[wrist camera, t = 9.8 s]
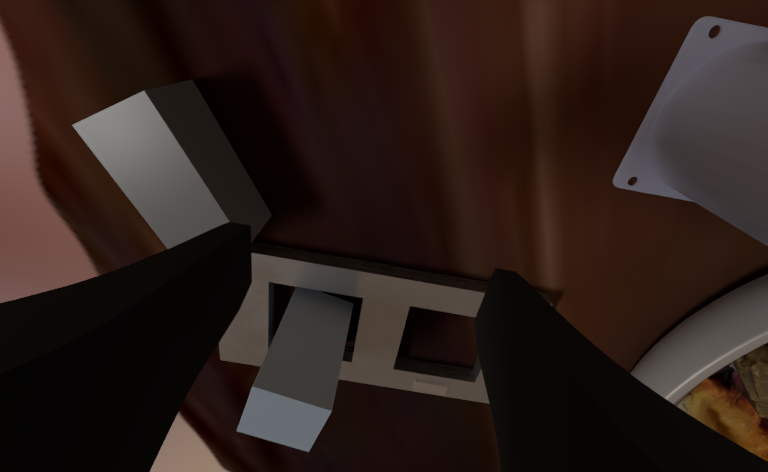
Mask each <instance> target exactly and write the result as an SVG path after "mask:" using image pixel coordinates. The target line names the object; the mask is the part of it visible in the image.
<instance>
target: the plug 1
mask: <svg viewBox="0 0 768 472" xmlns="http://www.w3.org/2000/svg"><path fill="white" fill-rule="evenodd" d="M72 126H73V127H74V128H75V130H76V131H77V132H78V134H79V135H80V136H81V137H82V139H83V140H84V141H85V143H86V144H87V145H88V147H89V148H90V149H91V150H92V152H93V153H94V154H95V156H96V157H97V158H98V159H99V161H100V162H101V163H102V165H103V166H104V167H105V169H106V170H107V171H108V172H109V174H110V175H111V176H112V178H113V179H114V180H115V181H116V183H117V184H118V185H119V187H120V188H121V189H122V191H123V192H124V193H125V194H126V196H127V197H128V198H129V200H130V201H131V202H132V204H133V205H134V206H135V207H136V209H137V210H138V211H139V213H140V214H141V215H142V216H143V218H144V219H145V220H146V222H147V223H148V224H149V226H150V227H151V228H152V229H153V231H154V232H155V233H156V235H157V236H158V237H159V238H160V240H161V241H162V242H163V244H164V245H165V246H166V248H167V249H169V248H172V247H174V246H176V245H178V244H180V243H183V242H185V241H187V240H189V239H192V238H194V237H196V236H198V235H200V234H202V233H205V232H207V231H209V230H211V229H213V228H216V227H218V226H220V225H223V224H225V223H228V222H234V223H239V224H245V225H251V243H252V241H253V240H254V239H255V237H256V236H257V235H258V233H259V232H260V231H261V229H262V228H263V226H264V225H265V224H266V222H267V221H268V220H269V218H270V217H271V216H272V214H271V213H270V211H269V209H268V208H267V206H266V204H265V202H264V201H263V199H262V197H261V196H260V194H259V192H258V191H257V189H256V187H255V185H254V184H253V182H252V180H251V179H250V177H249V175H248V173H247V172H246V170H245V168H244V167H243V165H242V163H241V162H240V160H239V158H238V156H237V155H236V153H235V151H234V150H233V148H232V146H231V144H230V143H229V141H228V139H227V138H226V136H225V134H224V133H223V131H222V129H221V127H220V126H219V124H218V122H217V121H216V119H215V117H214V115H213V114H212V112H211V110H210V109H209V107H208V105H207V103H206V102H205V100H204V98H203V97H202V95H201V93H200V92H199V90H198V88H197V86H196V85H195V83H194V81H193V80H189V81H185V82H180V83H176V84H171V85H167V86H162V87H158V88H153V89H149V90H145V91H142V92H140V93H138V94H136V95H134V96H132V97H130V98H128V99H126V100H123V101H121V102H119V103H117V104H115V105H113V106H111V107H109V108H107V109H105V110H103V111H101V112H98V113H96V114H94V115H92V116H90V117H88V118H86V119H84V120H82V121H80V122H78V123H75V124H73V125H72Z"/></svg>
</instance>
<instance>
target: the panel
mask: <svg viewBox="0 0 768 472" xmlns="http://www.w3.org/2000/svg"><path fill="white" fill-rule="evenodd" d="M251 255H252V283H251V285H250V288H249V290H248V292H247V295H246V297H245V299H244V301H243V303H242V305H241V307H240V310H239V311H238V313H237V315H236V316H235V318H234V320H233V321H232V323H231V324H230V326H229V328H228V329H227V331H226V332H225V334H224V335H223V337H222V339H221V340H220V342H219V349H220V360H224V361H231V362H237V363H243V364H249V365H255V366H262V363H263V361H264V359H265V357H266V354H267V352H268V350H269V348H270V345H271V343H272V341H273V338H274V287H275V283H277V284H283V285H289V286H295V287H301V288H307V289H313V290H319V291H324V292H330V293H336V294H342V295H348V296H354V297H360V298H363V302H362V307H361V313H360V319H359V324H358V330H357V335H356V341H355V346H354V349H348V348H344V353H343V358H342V363H341V368H340V373H339V378H338V379H341V380H347V381H354V382H360V383H366V384H372V385H378V386H384V387H390V388H397V389H403V390H409V391H415V392H421V393H427V394H433V395H440V396H446V397H452V398H458V399H464V400H470V401H476V402H483V403H489V399H488V395H487V391H486V387H485V382H484V378H483V374H482V369H481V365H480V361H479V356H478V357H477V360H476V362H475V364H474V367H473V369H469V368H463V367H457V366H451V365H445V364H438V363H432V362H426V361H420V360H414V359H408V358H402V357H397V353H398V349H399V345H400V342H401V338H402V334H403V330H404V327H405V323H406V319H407V315H408V312H409V308H410V306H413V307H418V308H424V309H430V310H436V311H442V312H448V313H454V314H460V315H465V316H471V317H476V315H477V312H478V310H479V307H480V305H481V302H482V300H483V297H484V295H485V292H486V290H487V287H488V284H489V282H484V281H478V280H473V279H467V278H461V277H455V276H450V275H444V274H438V273H432V272H427V271H421V270H415V269H409V268H404V267H398V266H392V265H386V264H381V263H375V262H369V261H363V260H357V259H352V258H346V257H340V256H334V255H329V254H323V253H317V252H311V251H306V250H300V249H294V248H288V247H283V246H277V245H271V244H265V243H259V242H254V241H252V243H251ZM537 292H538V293H539V294H540V295H541V296H542V297H543V298H544V299H545V300H546V301H547V302H548V303H549V304H550V305H551V306H552V305H553V304H552V302H551V300H550V298H549V296H548V294H547V293H546V292H542V291H537Z"/></svg>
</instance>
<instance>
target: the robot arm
mask: <svg viewBox="0 0 768 472" xmlns="http://www.w3.org/2000/svg"><path fill="white" fill-rule="evenodd" d="M715 25H718V26H720V32H719V34H718V35H717V36H716V37H714V38H712V39H711V38H710V37H709V31H710V29H711V28H712V27H713V26H715ZM632 177H637V182H636V183H635V184H633V185H628V180H629V179H630V178H632ZM613 184H614V185H615V186H616V187H618V188H622V189H627V190H633V191H638V192H643V193H649V194H654V195H660V196H665V197H671V198H676V199H681V200H687V201H692V202H695V203H697V204H699V205H700V206H702V207H704V208H705V209H707V210H709V211H710V212H712V213H714V214H715V215H717V216H719V217H720V218H722V219H724V220H725V221H727V222H728V223H730V224H732V225H733V226H735V227H737V228H738V229H740V230H742V231H743V232H745V233H747V234H748V235H750V236H752V237H753V238H755V239H757V240H758V241H760V242H762V243H763V244H765V245H767V246H768V28H766V27H762V26H757V25H752V24H747V23H742V22H737V21H732V20H727V19H722V18H717V17H712V16H705V17H702V18H700V19H699V20H697V21H696V22H695V23H694V24H693V26H692V27H691V29H690V31H689V33H688V35H687V37H686V39H685V41H684V43H683V45H682V46H681V48H680V50H679V52H678V54H677V56H676V58H675V60H674V62H673V64H672V66H671V68H670V70H669V72H668V73H667V75H666V77H665V79H664V81H663V83H662V85H661V87H660V89H659V91H658V93H657V95H656V97H655V99H654V100H653V102H652V104H651V106H650V108H649V110H648V112H647V114H646V116H645V118H644V120H643V122H642V124H641V126H640V127H639V129H638V131H637V133H636V135H635V137H634V139H633V141H632V143H631V145H630V147H629V149H628V151H627V153H626V154H625V156H624V158H623V160H622V162H621V164H620V166H619V168H618V170H617V172H616V174H615V176H614V178H613ZM251 283H252V255H251V225H245V224H239V223H234V222H228V223H225V224H223V225H220V226H218V227H216V228H213V229H211V230H209V231H207V232H205V233H202V234H200V235H198V236H196V237H194V238H192V239H189V240H187V241H185V242H183V243H180V244H178V245H176V246H174V247H172V248H169V249H167V250H165V251H162V252H160V253H158V254H155V255H153V256H150V257H148V258H145V259H143V260H140V261H138V262H136V263H133V264H131V265H128V266H126V267H123V268H120V269H117V270H115V271H112V272H109V273H106V274H103V275H100V276H97V277H94V278H91V279H88V280H85V281H82V282H79V283H75V284H72V285H69V286H65V287H62V288H58V289H54V290H50V291H47V292H43V293H39V294H35V295H31V296H28V297H24V298H20V299H16V300H12V301H8V302H4V303H0V472H150V469H151V467H152V465H153V463H154V461H155V459H156V457H157V455H158V452H159V450H160V448H161V446H162V444H163V442H164V440H165V438H166V436H167V434H168V431H169V429H170V427H171V425H172V423H173V421H174V419H175V417H176V415H177V413H178V412H179V410H180V408H181V406H182V404H183V402H184V400H185V398H186V396H187V394H188V392H189V390H190V388H191V386H192V385H193V383H194V381H195V380H196V378H197V376H198V375H199V373H200V371H201V370H202V368H203V367H204V365H205V364H206V362H207V360H208V359H209V357H210V356H211V354H212V353H213V351H214V350H215V348H216V346H217V345H218V343H219V342H220V340H221V339H222V337H223V335H224V334H225V332H226V331H227V329H228V328H229V326H230V324H231V323H232V321H233V320H234V318H235V316H236V315H237V313H238V311H239V310H240V307H241V305H242V303H243V301H244V299H245V297H246V295H247V292H248V290H249V288H250V285H251ZM475 332H476V343H477V351H478V356H479V361H480V365H481V369H482V374H483V378H484V382H485V387H486V391H487V395H488V399H489V404H490V408H491V412H492V416H493V421H494V425H495V431H496V436H497V441H498V449H499V457H500V464H501V472H768V461H766V460H764V459H762V458H760V457H759V456H757V455H755V454H753V453H752V452H750V451H748V450H746V449H745V448H743V447H741V446H740V445H738V444H736V443H735V442H733V441H731V440H730V439H728V438H726V437H725V436H723V435H721V434H720V433H718V432H716V431H714V430H713V429H711V428H710V427H708V426H706V425H705V424H703V423H702V422H700V421H698V420H697V419H695V418H694V417H692V416H690V415H689V414H687V413H686V412H684V411H683V410H681V409H680V408H678V407H677V406H675V405H674V404H672V403H671V402H669V401H668V400H666V399H665V398H664V397H662V396H661V395H659V394H658V393H656V392H655V391H653V390H652V389H650V388H649V387H648V386H646V385H645V384H643V383H642V382H641V381H639V380H638V379H637V378H635V377H634V376H633V375H631V374H630V373H629V372H627V371H626V370H625V369H623V368H622V367H621V366H620V365H618V364H617V363H616V362H614V361H613V360H612V359H611V358H609V357H608V356H607V355H606V354H604V353H603V352H602V351H601V350H600V349H598V348H597V347H596V346H595V345H594V344H593V343H591V342H590V341H589V340H588V339H587V338H586V337H585V336H583V335H582V334H581V333H580V332H579V331H578V330H577V329H576V328H574V327H573V326H572V325H571V324H570V323H569V322H568V321H567V320H566V319H565V318H564V317H563V316H562V315H560V314H559V313H558V312H557V311H556V310H555V309H554V308H553V307H552V306H551V305H550V304H549V303H548V302H547V301H546V300H545V299H544V298H543V297H542V296H541V295H540V294H539V293H538V292H537V291H536V290H535V289H534V288H533V287H532V286H531V285H530V284H529V283H527V282H526V281H525V280H524V279H523V278H522V277H521V276H520V275H519V274H517V273H516V272H514V271H508V270H502V269H497V268H495V269H494V272H493V274H492V277H491V279H490V282H489V284H488V287H487V290H486V292H485V295H484V297H483V300H482V302H481V305H480V307H479V310H478V312H477V315H476V317H475Z"/></svg>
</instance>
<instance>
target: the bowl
mask: <svg viewBox="0 0 768 472" xmlns="http://www.w3.org/2000/svg"><path fill="white" fill-rule="evenodd" d="M630 374H631V375H633V376H634V377H635V378H637V379H638V380H639V381H641V382H642V383H643V384H645V385H646V386H648V387H649V388H650V389H652V390H653V391H655V392H656V393H658V394H659V395H661V396H662V397H664V398H665V399H666V400H668V401H669V402H671V403H672V404H674V405H675V406H677V407H678V408H680V409H681V410H683V411H684V412H686V413H687V414H689V415H690V416H692V417H694V418H695V419H697V420H698V421H700V422H702V423H703V424H705V425H706V426H708V427H710V428H711V429H713V430H714V431H716V432H718V433H720V434H721V435H723V436H725V437H726V438H728V439H730V440H731V441H733V442H735V443H736V444H738V445H740V446H741V447H743V448H745V449H746V450H748V451H750V452H752V453H753V454H755V455H757V456H759V457H760V458H762V459H764V460H766V461H768V274H766V275H764V276H762V277H759V278H757V279H755V280H753V281H751V282H749V283H747V284H745V285H742V286H741V287H739V288H737V289H735V290H733V291H731V292H729V293H727V294H725V295H724V296H722V297H720V298H718V299H717V300H715V301H713V302H711V303H710V304H708V305H707V306H705V307H703V308H702V309H700V310H699V311H697V312H696V313H694V314H693V315H691V316H690V317H688V318H687V319H686V320H684V321H683V322H682V323H680V324H679V325H678V326H676V327H675V328H674V329H672V330H671V331H670V332H669V333H668V334H666V335H665V336H664V337H663V338H662V339H661V340H660V341H659V342H658V343H656V344H655V345H654V346H653V347H652V348H651V349H650V350H649V351H648V352H647V353H646V354H645V356H644V357H643V358H642V359H641V360H640V361H639V363H638V364H637V365H636V366H635V368H634V369H633V370H632V371H631V373H630Z"/></svg>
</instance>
